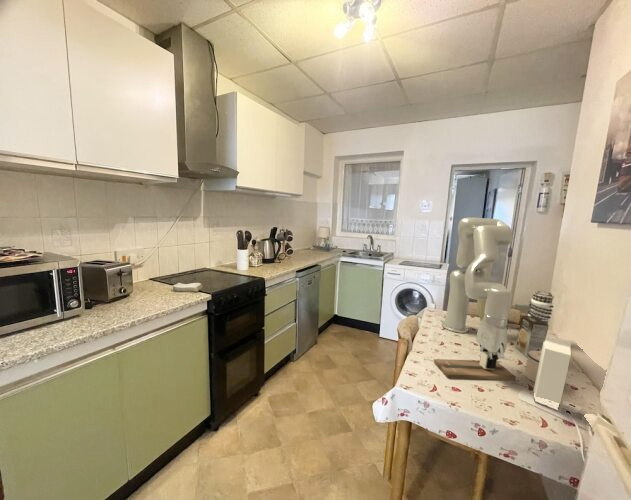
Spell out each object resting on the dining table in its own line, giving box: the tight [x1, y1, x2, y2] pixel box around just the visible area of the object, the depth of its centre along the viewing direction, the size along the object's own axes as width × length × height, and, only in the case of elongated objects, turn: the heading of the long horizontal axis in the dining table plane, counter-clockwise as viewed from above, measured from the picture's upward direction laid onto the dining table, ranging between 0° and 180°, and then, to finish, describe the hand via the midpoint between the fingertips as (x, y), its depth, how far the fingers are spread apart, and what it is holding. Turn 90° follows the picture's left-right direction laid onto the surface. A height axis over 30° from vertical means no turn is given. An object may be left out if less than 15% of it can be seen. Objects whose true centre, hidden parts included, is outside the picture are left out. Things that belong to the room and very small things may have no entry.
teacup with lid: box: [524, 350, 542, 383], centre depth 99 cm, size 12×9×12 cm
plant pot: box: [476, 300, 486, 322], centre depth 151 cm, size 15×15×16 cm
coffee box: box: [515, 315, 550, 358], centre depth 117 cm, size 9×6×16 cm
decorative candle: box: [527, 290, 555, 325], centre depth 131 cm, size 9×9×25 cm
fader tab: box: [479, 351, 495, 369], centre depth 101 cm, size 3×4×6 cm
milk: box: [532, 335, 572, 405], centre depth 84 cm, size 6×6×22 cm
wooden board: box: [433, 358, 517, 381], centre depth 101 cm, size 10×26×2 cm, turn 93°
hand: (487, 364), depth 101 cm, fingers closed on fader tab, 3 cm apart
